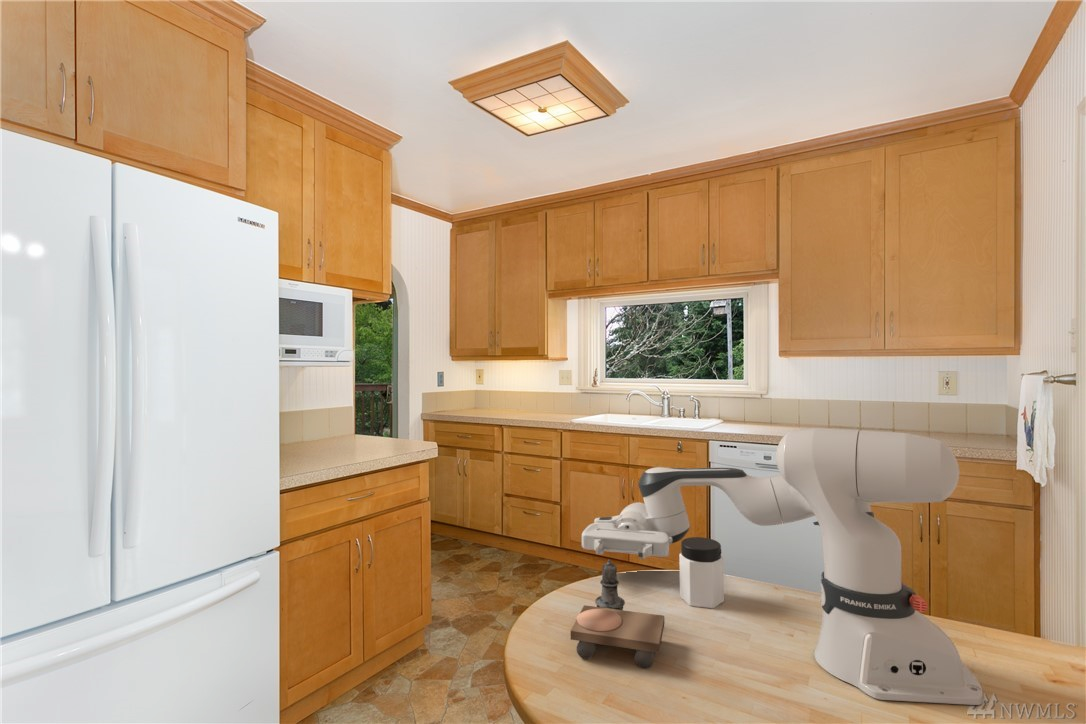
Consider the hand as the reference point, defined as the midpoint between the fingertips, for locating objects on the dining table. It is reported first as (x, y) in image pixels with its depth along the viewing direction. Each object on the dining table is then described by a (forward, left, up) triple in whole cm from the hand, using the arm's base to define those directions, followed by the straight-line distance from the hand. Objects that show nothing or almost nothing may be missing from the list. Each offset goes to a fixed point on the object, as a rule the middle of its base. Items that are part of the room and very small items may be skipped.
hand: (619, 552), depth 117 cm
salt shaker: (0, +13, -9) cm, 15 cm away
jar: (-17, -1, -9) cm, 19 cm away
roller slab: (-4, +23, -9) cm, 24 cm away
